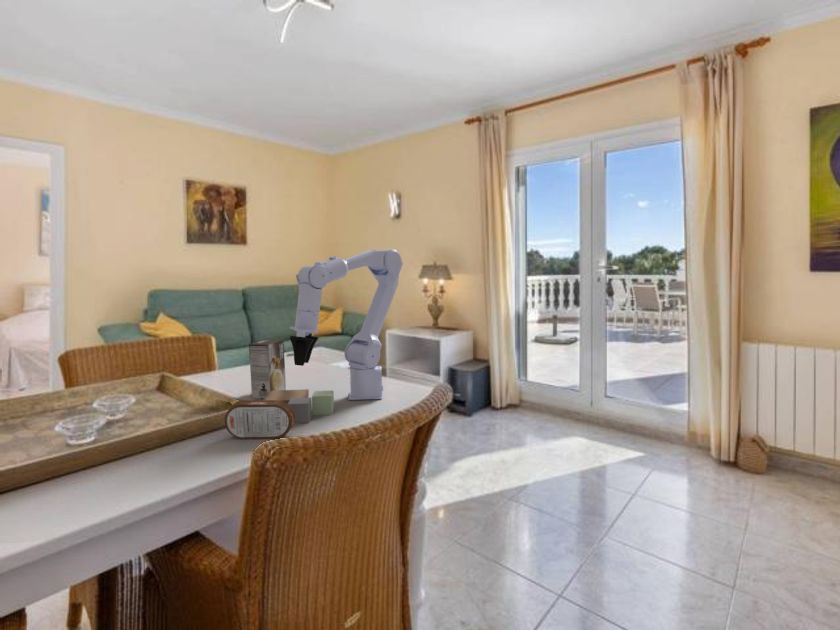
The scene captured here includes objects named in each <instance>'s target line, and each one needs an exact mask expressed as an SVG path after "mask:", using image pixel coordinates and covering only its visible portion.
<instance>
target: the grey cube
mask: <svg viewBox="0 0 840 630" xmlns="http://www.w3.org/2000/svg"><path fill="white" fill-rule="evenodd" d="M288 405H289V406H290V407H291V408H292V410H293V412H294V415H295V422H294V424H309V423H310V422H311V420H312V417H313V415H312V397H309V398H291V399H290V401H289V402H288Z"/></svg>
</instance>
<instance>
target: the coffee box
mask: <svg viewBox="0 0 840 630" xmlns="http://www.w3.org/2000/svg"><path fill="white" fill-rule="evenodd" d="M284 341H285V340H284V339H276V338H275V339H274V338H273V339H271V338H269V339H267V338H265V339H262V340H258V341H255V342H252V343H248V348H249V349H248V351H249V367H250V369H249V371H250V385H251V386H250V387H251V399H261V398H263V399H264V400H265V399H266V398H267V396H268V395H269V394H270V392H271V391H275V390H287V387H286V386H287V385H286V383H287V382H286V367H285V366H286V364H285V363H286V361H285V344H284ZM263 399H262V400H263Z"/></svg>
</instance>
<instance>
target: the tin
mask: <svg viewBox="0 0 840 630" xmlns="http://www.w3.org/2000/svg"><path fill="white" fill-rule="evenodd" d="M294 422H295V415H294V412H293V410H292V408H291V407H290V406H289V405H288V404H287V403H285V402H283V401H279V400H265V399H264V400H263V399H260V400H259V399H255V400H253V399H252V400H251V399H250V400H249V399H245V400H244V399H242V400H237V401H236V402H234V403H233V404H232V405H231V406H230V407H229V409H228V410H227V411H226V413H225V415H224V426H225V429H226V431H228V433H229V434H230V435H231V436H232V437H235V438H237V439H240V440H257V439H258V440H259V439H262V440H265V439H268V440H270V439H271V440H272V439H273V440H274V439H276V438H277V439H281V438H284V437H285V436H286V435H287V434H288V433H290V430H292V428H293V426H294Z"/></svg>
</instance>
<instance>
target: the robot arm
mask: <svg viewBox="0 0 840 630" xmlns="http://www.w3.org/2000/svg"><path fill="white" fill-rule="evenodd" d="M403 265H404V263H403V260H402V257H401V254H400V253H399V251H398V250H396V249H385V250H384V249H380V250H379V249H378V250H376V249H371V250H367V251H363V252H360V253H358V254H356V255H353V256H350V257H348V258H345V259H343V258H341V257H336V256H333V255H332V256H330V257H328V259H327V260H324V261H322V262H321V261H315V262H314V265H304V266H302V267H301V269H299V271H298V273H297V274H296V275H295V276H296V277H295V280H296V282H297V283H298V297H297V298H298V299H297V306H296V314H295V322H294V323H295V324H294V326H289V330H292V331H295V332H296V334H295V335H290V336H289V339H290V341H291V345H292V351H293V361H294V362H293V363H294V365H295V366H302V367H303V366H305V363H306V364H308V363H309V361H310V359H311V355H312V353H313V349H314V347H315V345H316V343H317V341H318V340H319V336H316V335H315V336H314V334H318V333H319V329H318V325H319V319H320V311H321V310H320V309H321V301H322V294H323V288H325V287H327V285H328V284H329V283H331V282H335V281H337V280H340V279H343V278H345V277H346V276H347V274H348V272H349V271H351V270H356V269H359V268H364V267H367V268H368V270H369V271H370V273H371V274H372V276H373V277H374V279H375V280H376V281H377V284H378V285H377V288H376V289H375V290H376V291H375V293H374V296H373V298H372V300H371V303H370V306H369V309H368V311H367V313H366V315H365V316H366V317H365V318H364V321H363V324H362V327H361V329H360V331H359V332H358V333H356V334H354V335H353V336H352V338H351V340H350V342H349V343H348V344H347V345H346V347H345V349H344V358H345V360H346V361H347V362H348V366H349V371H350V372H349V373H350V374H349V375H350V376H349V377H350V378H349V379H350V381H349V384H350V391H349V394H348V400H349V401H357V400H360V401H361V400H362V401H363V400H382V399H383V391H384V385H383V380H382V379H383V375H382V373H383V372H382V369H383V367H382V366H381V365H378V363H379V362H380V359H381V349H382V346H383V344H382V343H381V341H380V339H379V337H380V333H381V331H382V328H383V325H384V323H385V320H386V318H387V314H388V312H389V310H390V307H391V304H392V301H393V299H394V297H395V295H396V291H397V288H398V285H399V276H400V272H401V270H402V267H403Z"/></svg>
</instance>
